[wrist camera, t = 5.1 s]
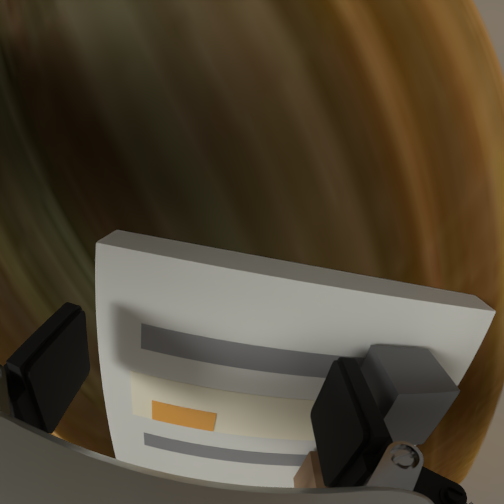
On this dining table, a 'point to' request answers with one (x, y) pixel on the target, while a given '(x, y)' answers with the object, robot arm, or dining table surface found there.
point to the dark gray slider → (408, 390)
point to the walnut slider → (309, 473)
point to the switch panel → (246, 351)
